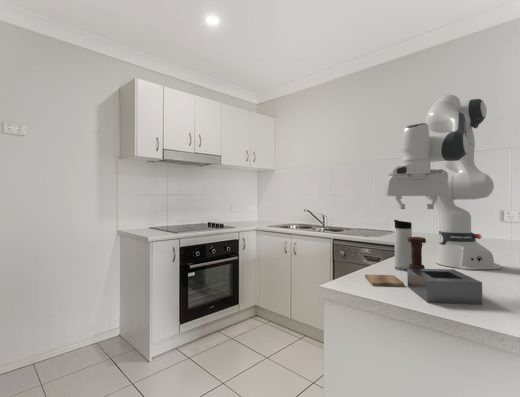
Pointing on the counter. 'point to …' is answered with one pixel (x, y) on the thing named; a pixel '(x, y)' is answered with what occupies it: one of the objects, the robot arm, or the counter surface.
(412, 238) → the bolt
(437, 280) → the socket block
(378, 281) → the walnut pad
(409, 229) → the travel mug
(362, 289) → the counter surface
